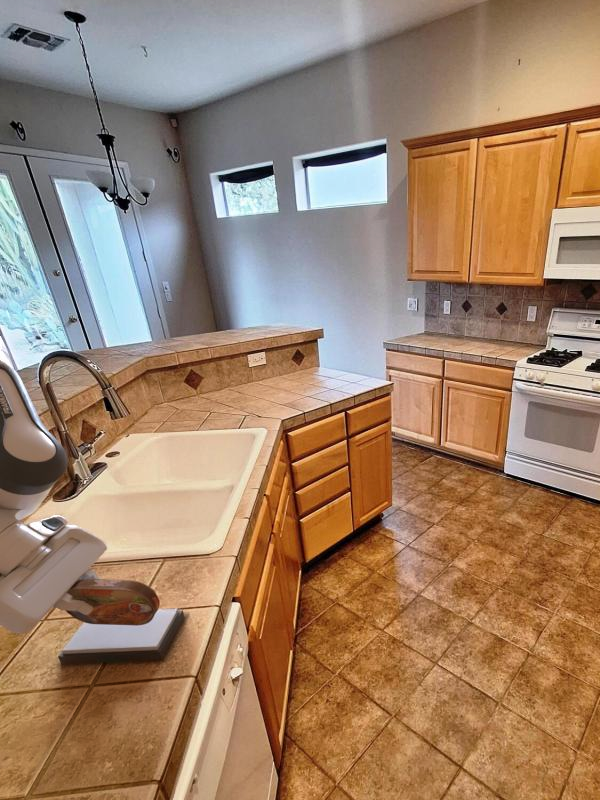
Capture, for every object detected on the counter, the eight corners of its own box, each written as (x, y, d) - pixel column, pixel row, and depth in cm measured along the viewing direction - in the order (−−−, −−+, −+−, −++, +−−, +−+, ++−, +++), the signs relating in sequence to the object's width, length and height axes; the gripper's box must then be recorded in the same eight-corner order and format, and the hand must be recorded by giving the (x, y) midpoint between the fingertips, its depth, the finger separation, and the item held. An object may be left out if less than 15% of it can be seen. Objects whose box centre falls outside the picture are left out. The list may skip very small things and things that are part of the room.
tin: (70, 623, 73) (49, 589, 68) (82, 608, 75) (62, 575, 70) (159, 627, 73) (144, 593, 68) (168, 612, 75) (154, 579, 71)
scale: (62, 666, 70) (56, 653, 69) (96, 622, 79) (91, 609, 78) (162, 661, 72) (158, 648, 70) (185, 618, 81) (182, 606, 79)
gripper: (-31, 586, 56) (71, 638, 61) (65, 510, 75) (138, 554, 80) (-53, 613, 58) (48, 661, 63) (47, 532, 76) (119, 574, 81)
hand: (99, 601), depth 72 cm, fingers closed on tin, 3 cm apart
